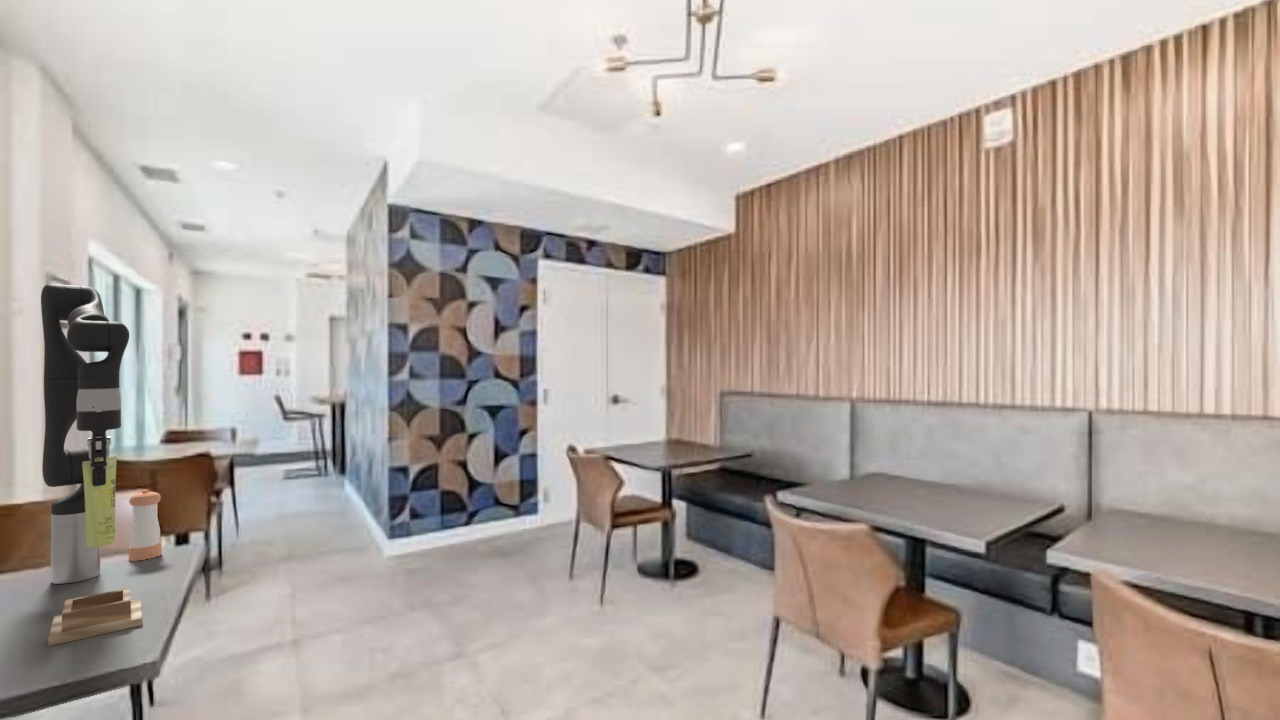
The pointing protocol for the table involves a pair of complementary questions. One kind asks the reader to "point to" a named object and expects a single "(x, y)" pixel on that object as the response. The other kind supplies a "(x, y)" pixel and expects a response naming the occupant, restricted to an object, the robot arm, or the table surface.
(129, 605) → the socket block
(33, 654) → the table surface
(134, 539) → the pepper shaker
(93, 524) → the tube
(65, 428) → the robot arm
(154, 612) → the table surface
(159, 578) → the table surface
